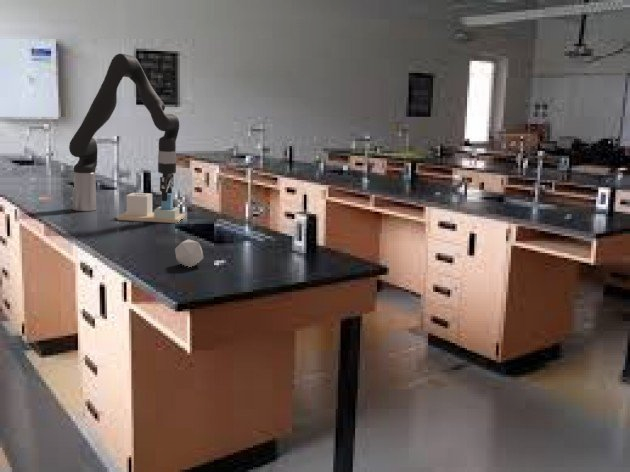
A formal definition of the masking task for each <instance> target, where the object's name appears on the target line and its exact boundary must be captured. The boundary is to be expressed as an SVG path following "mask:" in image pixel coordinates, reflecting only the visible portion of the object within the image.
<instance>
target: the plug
mask: <svg viewBox="0 0 630 472" xmlns="http://www.w3.org/2000/svg"><path fill="white" fill-rule="evenodd" d="M173 194H174V193H173V192H172V193H167V201H162V193H161V196H160V197H161V198H160V200H161V203H160V204H161V206H160V207H161V210H173V207H174V195H173Z"/></svg>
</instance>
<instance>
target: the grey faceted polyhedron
mask: <svg viewBox="0 0 630 472" xmlns="http://www.w3.org/2000/svg"><path fill="white" fill-rule="evenodd" d="M202 248H203V247H202V246H201V244H200V243H199V241H195V240H192V239H189V238H188V239H186V240H184V241H181V242H180V243H179V244H178V246H176V247H175V248H174V251H175V259H176V260H177V262H178V264H179V265H180V264H182V265H181V266H183V265H184V266H183V267H186V266H188V267H187V268H189V267H191V268H193V267H195V266H196V265H198V264H199V263H200V262H201V261H202V260H203V259H204V253H203V249H202ZM197 263H198V264H197ZM192 266H193V267H192Z"/></svg>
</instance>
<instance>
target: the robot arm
mask: <svg viewBox="0 0 630 472" xmlns="http://www.w3.org/2000/svg"><path fill="white" fill-rule="evenodd" d="M141 65H142V64H141V63H140V62H139V60H138V58H136V56H132V55H129V54H126V53H117V54H115V55H114V56H113V58H112V59H111V61H110V63H109V66H108V69H107V71H106V74H105V76H104V79H103V81H102V83H101V85H100V87H99V89H98V91H97V93H96V94H95V97H94V99H93V101H92V103H91V105H90V106H89V108H88V109H89V110H88V111H87V113H86V115H85V116H84V119H83V121H82V122H81V124H80V126H79V128H78V129H77V131H76V132H75V133H74V135H73V137H72V138H71V140H70V142H69V145H68V149H69V150H68V151H69V152H70V154H71V155H72V156H73V157H75V158H78V161H77V163H76V164H75V165H74V166H73V187H74V188H73V189H72V210H73V211H77V212H92V211H96V210H97V192H96V191H97V185H96V179H97V178H96V168H97V166H98V145H97V144H98V143H97V142H96V140H95V138H94V136H95V134H96V133H97V132H98V131H99V130H100V129H101V128H102V127H103V126H104V125H105V124H106V123H107V122H108V121H109V120H110V118H111V116H112V114H113V113H114V111H115V108H116V107H117V100H118V98H117V97H118V96H117V93H118V92H117V91H118V87H119V85H120V84H121V82H122V80H123V78H124V77H125V78H129V79H130V80H131V81H132V82H133V83H134V84H135V86H136V88H137V90H138V95H139V98H140V100H141V102H142V103H143V105H144V107H145V108H146V109H147V111H148V112H149V114H150V117H151V120H152V122H153V124H154V126H155V127H156V129H158V131H161V132H164V134H163V136H161V137H159V139H158V155H157V172H158V174H162V176H160V177H159V191H160V192H161V194H162V201H167V193H173V188H174V177H175V176H174V174H176V173H177V153H176V151H177V149H176V148H177V143H176V141H177V139H178V135H179V130H180V120H179V118H178V116H176V114H170V113H165V112H164V111H165V109H166V105H165V103H164V101H162V99H161V97H160V96H159V95H158V93H157V92H156V91H155V89H154V88H153V86H152V84H151V82H150V81H149V79H148V77H147V75H146V73H145V71H144V69H143V67H142V66H141Z"/></svg>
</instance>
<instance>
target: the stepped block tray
mask: <svg viewBox="0 0 630 472" xmlns="http://www.w3.org/2000/svg"><path fill="white" fill-rule="evenodd" d="M184 217H185V218H186V213H180V207H174V206H173V210H161V206H158V207H157V208H155V209H154V210H153V193H146V192H145V193H143V192H131V193H129V194H126V211H124V212H123V213H121V214H119V215H117V221H129V222H130V221H131V222H149V223H150V222H153V223H170V224H171V223H172V224H173V223H174V224H178V223H177V222H179V221H180V220H181V219H183V218H184ZM185 218H184V219H185ZM184 219H183V220H184ZM181 221H182V220H181ZM181 221H180V222H181ZM180 222H179V223H180Z"/></svg>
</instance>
